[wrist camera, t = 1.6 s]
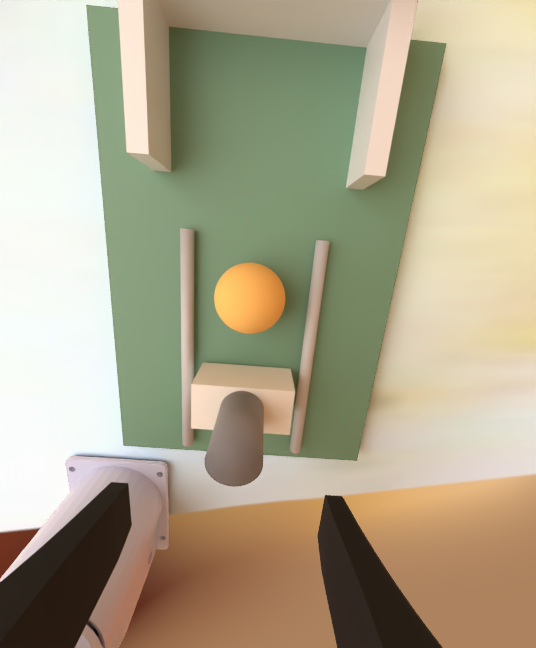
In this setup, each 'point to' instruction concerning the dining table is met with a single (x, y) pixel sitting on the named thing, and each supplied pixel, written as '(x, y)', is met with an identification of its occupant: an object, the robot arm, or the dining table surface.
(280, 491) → the dining table surface
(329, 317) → the pitch
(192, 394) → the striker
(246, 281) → the ball
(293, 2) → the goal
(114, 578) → the robot arm
